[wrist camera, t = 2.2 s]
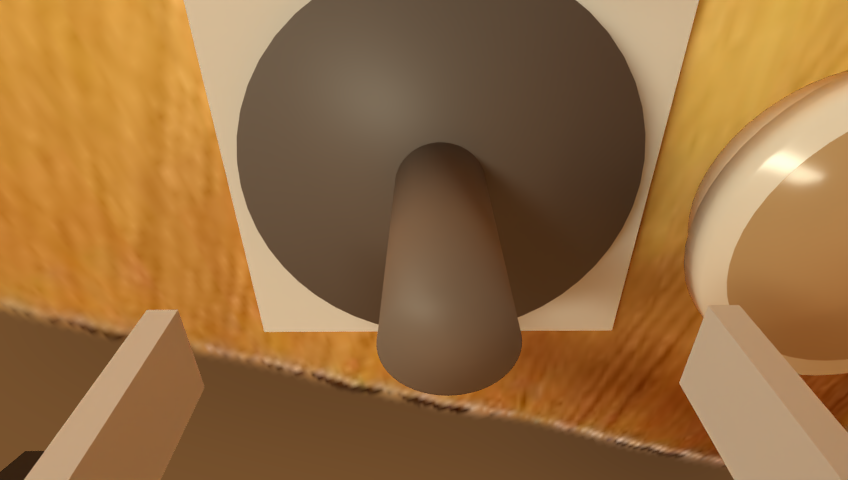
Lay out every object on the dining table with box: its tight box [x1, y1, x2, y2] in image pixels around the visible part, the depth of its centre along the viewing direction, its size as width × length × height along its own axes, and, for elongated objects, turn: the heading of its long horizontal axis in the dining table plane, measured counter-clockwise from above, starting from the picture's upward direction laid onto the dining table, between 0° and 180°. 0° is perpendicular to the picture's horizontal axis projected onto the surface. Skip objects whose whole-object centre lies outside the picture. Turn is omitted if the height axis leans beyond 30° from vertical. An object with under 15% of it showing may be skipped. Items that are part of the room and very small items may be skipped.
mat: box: [184, 0, 699, 332], centre depth 21 cm, size 18×18×1 cm
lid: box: [237, 0, 646, 396], centre depth 17 cm, size 16×16×10 cm
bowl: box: [684, 71, 848, 375], centre depth 20 cm, size 13×13×5 cm
